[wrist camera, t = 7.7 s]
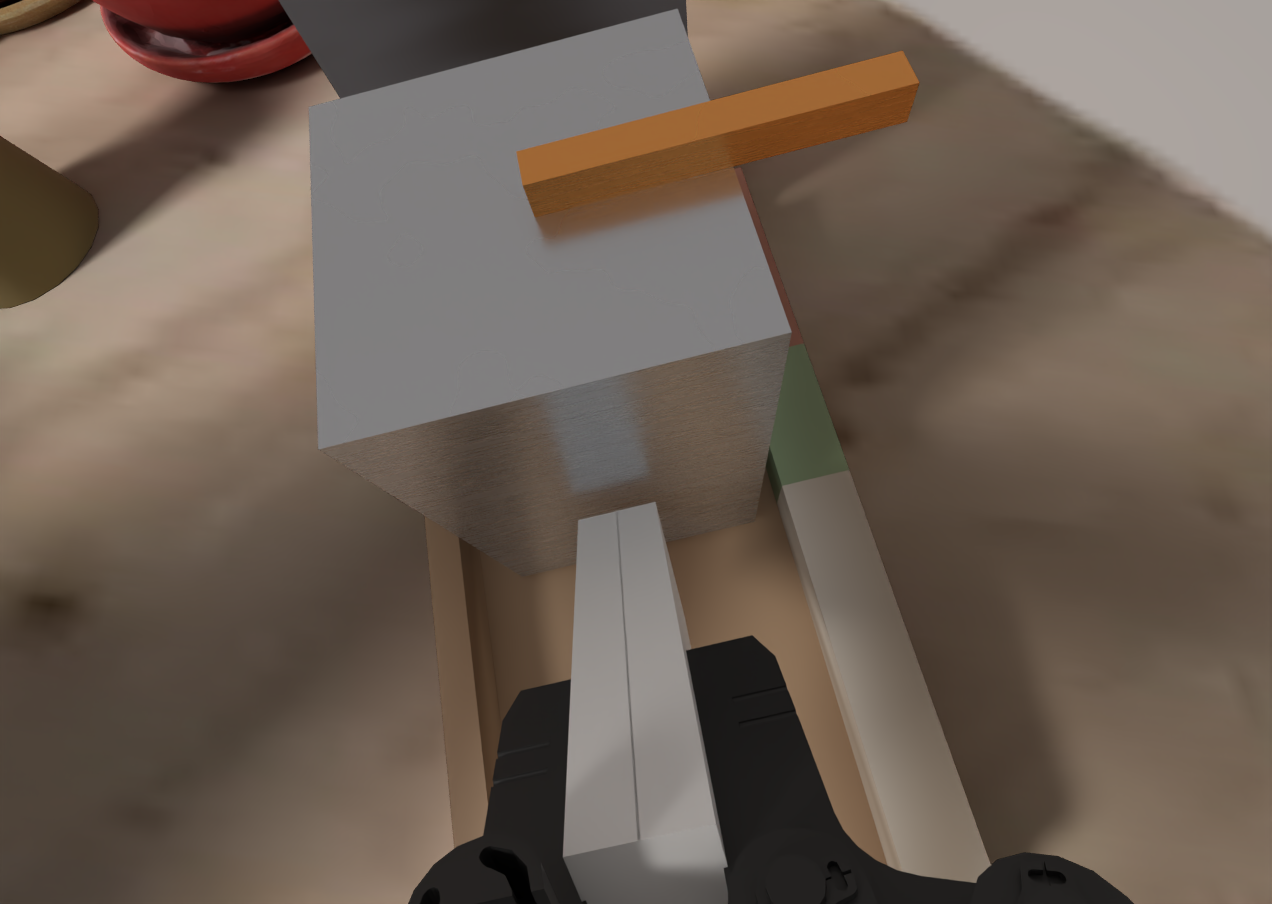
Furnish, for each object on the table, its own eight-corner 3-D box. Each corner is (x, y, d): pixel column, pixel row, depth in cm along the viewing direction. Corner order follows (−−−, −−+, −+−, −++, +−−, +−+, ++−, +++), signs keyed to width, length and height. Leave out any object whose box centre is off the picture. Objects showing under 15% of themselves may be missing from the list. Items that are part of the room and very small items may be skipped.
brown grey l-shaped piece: (501, 1062, 14) (-121, 2091, 4) (414, 223, 23) (157, -178, 13) (992, 959, 14) (1854, 1778, 3) (713, 145, 23) (708, -336, 12)
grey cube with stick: (522, 576, 16) (288, 430, 8) (484, 314, 19) (284, -13, 10) (849, 499, 16) (1009, 251, 7) (760, 244, 19) (794, -153, 10)
